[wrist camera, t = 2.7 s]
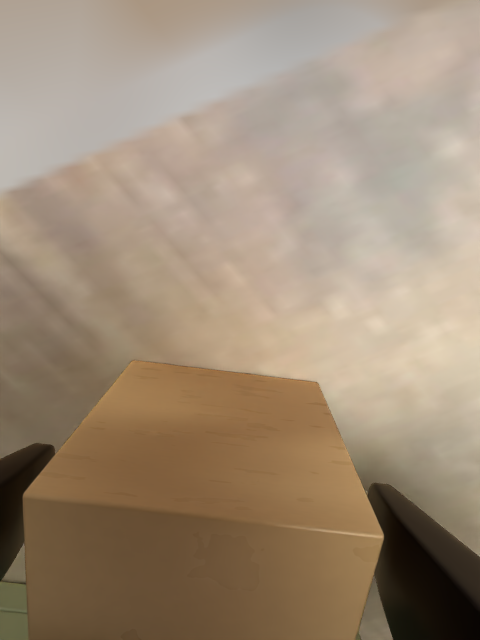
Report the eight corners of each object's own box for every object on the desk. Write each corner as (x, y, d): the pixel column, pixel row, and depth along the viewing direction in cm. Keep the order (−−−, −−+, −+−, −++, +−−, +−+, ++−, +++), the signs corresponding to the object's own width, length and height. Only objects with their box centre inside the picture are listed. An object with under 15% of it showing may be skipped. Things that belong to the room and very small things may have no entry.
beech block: (318, 381, 9) (386, 536, 5) (289, 532, 10) (320, 769, 6) (131, 359, 9) (19, 494, 5) (124, 513, 10) (30, 739, 6)
